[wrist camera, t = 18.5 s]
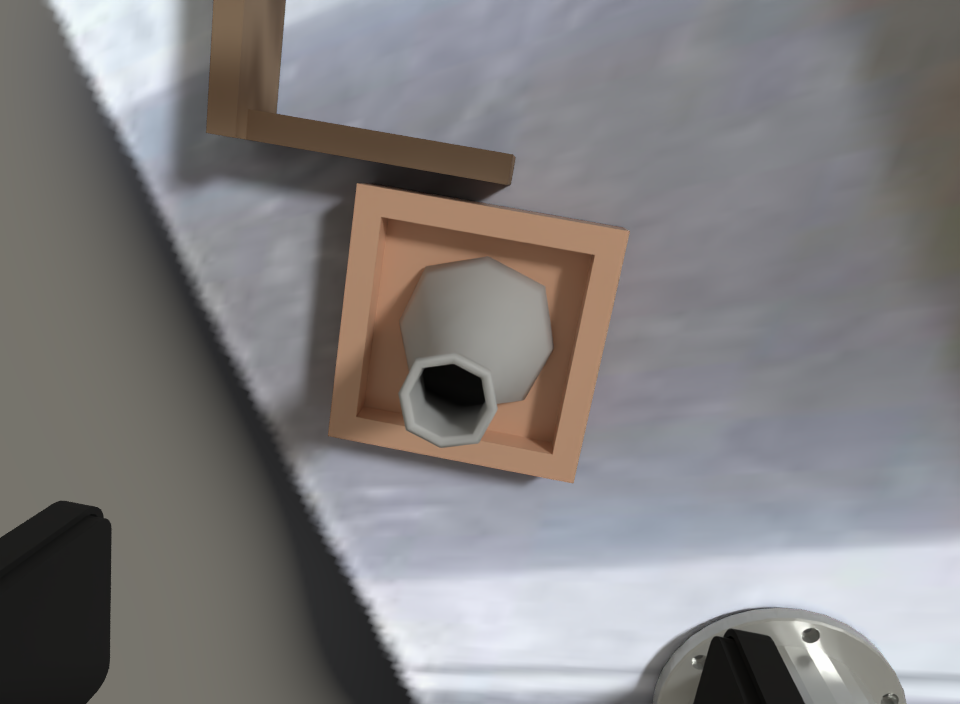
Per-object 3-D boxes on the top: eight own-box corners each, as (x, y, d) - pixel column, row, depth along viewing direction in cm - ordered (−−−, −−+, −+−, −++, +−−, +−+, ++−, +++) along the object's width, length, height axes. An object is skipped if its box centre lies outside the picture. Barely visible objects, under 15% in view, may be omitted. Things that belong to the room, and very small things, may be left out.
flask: (568, 268, 30) (582, 311, 20) (540, 419, 31) (539, 524, 22) (409, 242, 30) (347, 271, 20) (390, 392, 32) (325, 484, 22)
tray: (570, 461, 33) (573, 483, 31) (343, 417, 33) (328, 436, 31) (622, 227, 30) (629, 231, 28) (371, 183, 30) (356, 183, 28)
